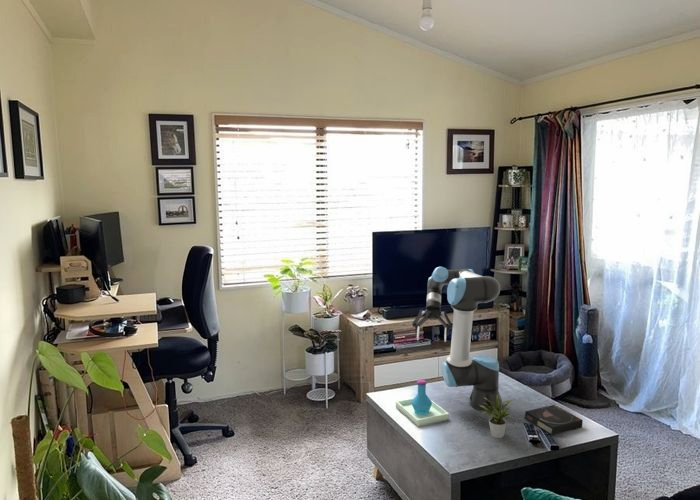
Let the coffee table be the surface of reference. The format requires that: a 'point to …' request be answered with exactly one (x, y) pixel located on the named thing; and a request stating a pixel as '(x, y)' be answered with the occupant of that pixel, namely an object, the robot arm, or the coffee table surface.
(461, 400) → the coffee table surface
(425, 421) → the parts tray
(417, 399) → the perfume bottle
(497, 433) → the house plant
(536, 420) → the dark brown book
